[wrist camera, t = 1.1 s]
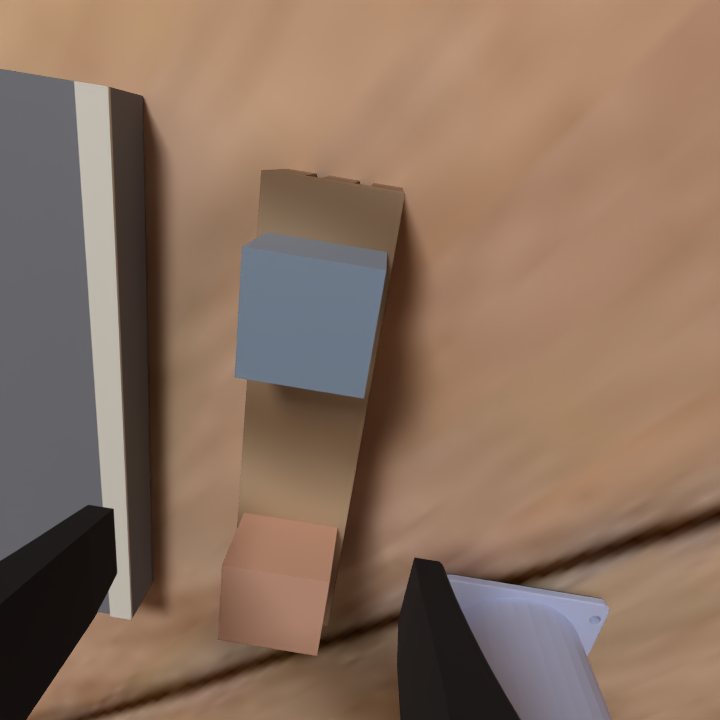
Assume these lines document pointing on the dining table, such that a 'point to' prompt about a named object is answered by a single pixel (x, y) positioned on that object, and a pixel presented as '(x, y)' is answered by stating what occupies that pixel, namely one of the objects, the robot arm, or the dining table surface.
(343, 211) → the brown notched bar
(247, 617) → the pink square block
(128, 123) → the dock
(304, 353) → the blue-grey square block
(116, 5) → the dining table surface
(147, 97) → the dining table surface
